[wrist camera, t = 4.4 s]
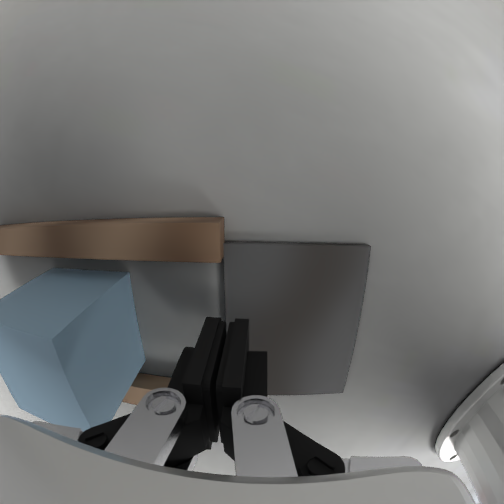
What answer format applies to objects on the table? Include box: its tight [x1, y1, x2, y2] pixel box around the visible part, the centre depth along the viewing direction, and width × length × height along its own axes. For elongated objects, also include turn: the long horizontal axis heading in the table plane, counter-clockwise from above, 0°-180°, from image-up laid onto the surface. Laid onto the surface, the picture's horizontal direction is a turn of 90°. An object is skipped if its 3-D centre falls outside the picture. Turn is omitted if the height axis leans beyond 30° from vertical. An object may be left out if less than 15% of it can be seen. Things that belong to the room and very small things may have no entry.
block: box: [0, 268, 146, 432], centre depth 10 cm, size 5×5×6 cm
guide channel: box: [0, 217, 371, 405], centre depth 12 cm, size 20×10×1 cm, turn 90°
